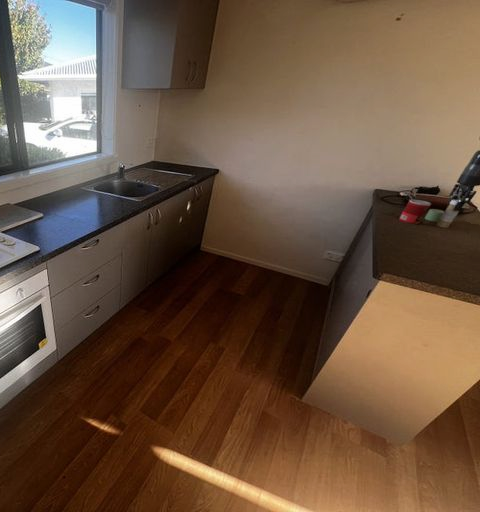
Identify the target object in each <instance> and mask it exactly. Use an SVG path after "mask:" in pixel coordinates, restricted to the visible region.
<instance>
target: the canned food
mask: <svg viewBox="0 0 480 512" xmlns="http://www.w3.org/2000/svg"><path fill="white" fill-rule="evenodd" d="M431 205H432V203H431V202H429V201H426V200H420V199H409V200H408V202H407V203H406V206H405V207H404V209H403V211H402V212H401V214H400V216H399V217H398V220H399V221H400V222H403V223H406V224H409V225H411V224H412V225H419V224H420V223H421V222H422V220H423V219H424V218H425V216H426V215H427V213H428V211H429V210H430V207H431Z"/></svg>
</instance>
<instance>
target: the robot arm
mask: <svg viewBox="0 0 480 512" xmlns="http://www.w3.org/2000/svg"><path fill="white" fill-rule="evenodd" d="M479 140H480V137H479ZM475 187H480V149H479V150H477V151H475V152H474V154H473V155H472V157H471V158H470V160H469V162H468V164H467V165H466V166H465V167H464V169H463V171H462V172H461V174H460V176H459V177H458V179H457V180H456V184H454V186H453V188H452V190H451V191H450V193H449V196H448V197H450V199H449V200H448V202H447V204H446V206H447V207H448V206H449V204H450V202H451V201H452V200H458V203H457V204H456V206H455V207H454V209H453V210H455V211H459V212H460V211H461V210H462V209H463V208H464V206H465V204H470V202H471V201H472V200H473V198H474V197H475V195H476V194H477V192H478V191H477V190H474V188H475ZM463 205H464V206H463Z"/></svg>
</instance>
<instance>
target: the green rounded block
mask: <svg viewBox="0 0 480 512" xmlns="http://www.w3.org/2000/svg"><path fill="white" fill-rule="evenodd" d="M444 212H445V210H441V209H436V208H429V209H428V210H427V212H426V214H425V216H424V219H425V220H427V221H430V222H434V223H435V222H437V223H438V221H439V220H440V218H441V216H442V215H443V213H444Z"/></svg>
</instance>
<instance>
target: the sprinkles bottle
mask: <svg viewBox="0 0 480 512" xmlns="http://www.w3.org/2000/svg"><path fill="white" fill-rule="evenodd" d="M458 200H459V199H457V200H452V201H451V202H450V204H449V206H447V207H446V209H445V210H444V211H445V212H444V213H443V215H442V216H441V218H440V220H439V221H438V222H437V223H435V226H437V227H440V228H444V229H447V228H450V226H451V225H452V223H453V221H454V220H455V218H456V217H457V216H458V214H459V212H460V211H455V210H453V209H454V207H455V206H456V204H457V203H458ZM464 206H465V204H464V205H463V207H464Z"/></svg>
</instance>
